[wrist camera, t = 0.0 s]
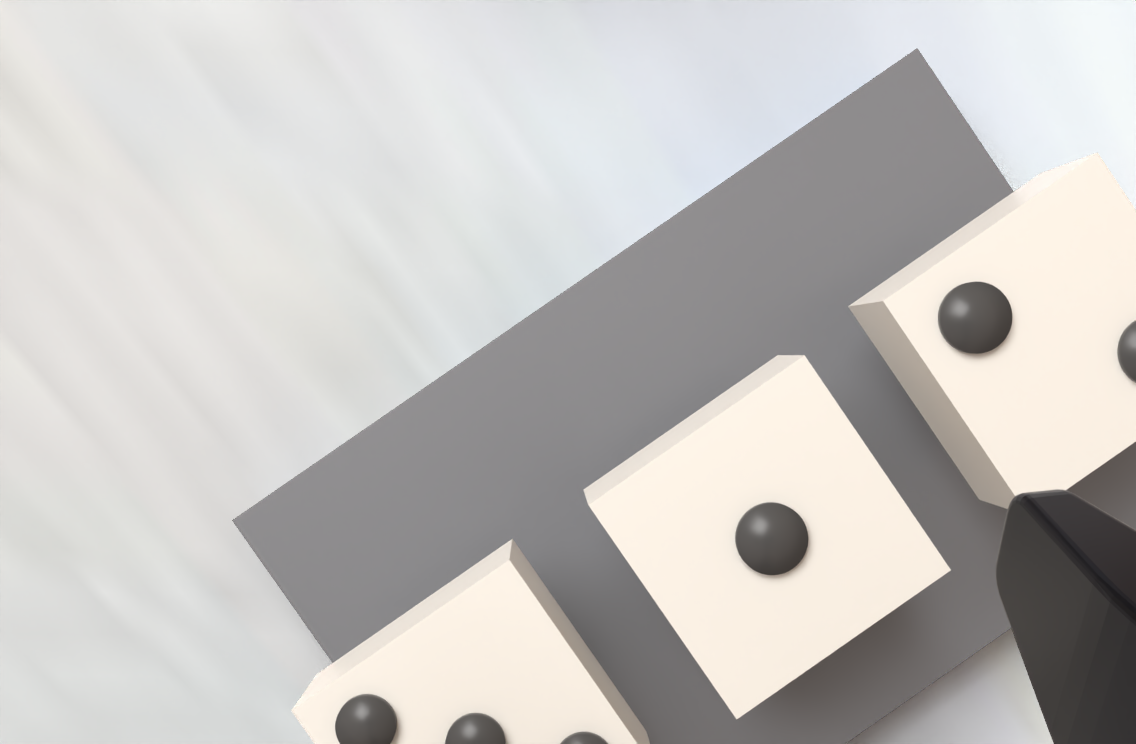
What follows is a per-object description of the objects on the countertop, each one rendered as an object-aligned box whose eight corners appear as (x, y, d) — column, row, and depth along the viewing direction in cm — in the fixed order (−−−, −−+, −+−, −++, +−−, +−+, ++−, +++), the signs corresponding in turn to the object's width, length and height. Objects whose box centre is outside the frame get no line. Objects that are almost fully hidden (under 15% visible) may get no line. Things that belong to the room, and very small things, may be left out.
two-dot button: (1170, 366, 20) (1247, 367, 18) (979, 499, 20) (1032, 517, 18) (1041, 173, 20) (1102, 150, 18) (847, 306, 20) (885, 300, 17)
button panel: (1155, 476, 24) (1212, 487, 22) (540, 906, 24) (539, 956, 22) (885, 73, 24) (917, 48, 22) (258, 506, 23) (232, 520, 21)
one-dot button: (909, 548, 20) (954, 572, 18) (716, 682, 20) (737, 722, 18) (777, 355, 20) (806, 355, 17) (583, 489, 20) (589, 506, 17)
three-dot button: (646, 731, 20) (659, 778, 18) (452, 866, 20) (441, 929, 17) (511, 539, 20) (509, 561, 17) (316, 673, 20) (289, 713, 17)
